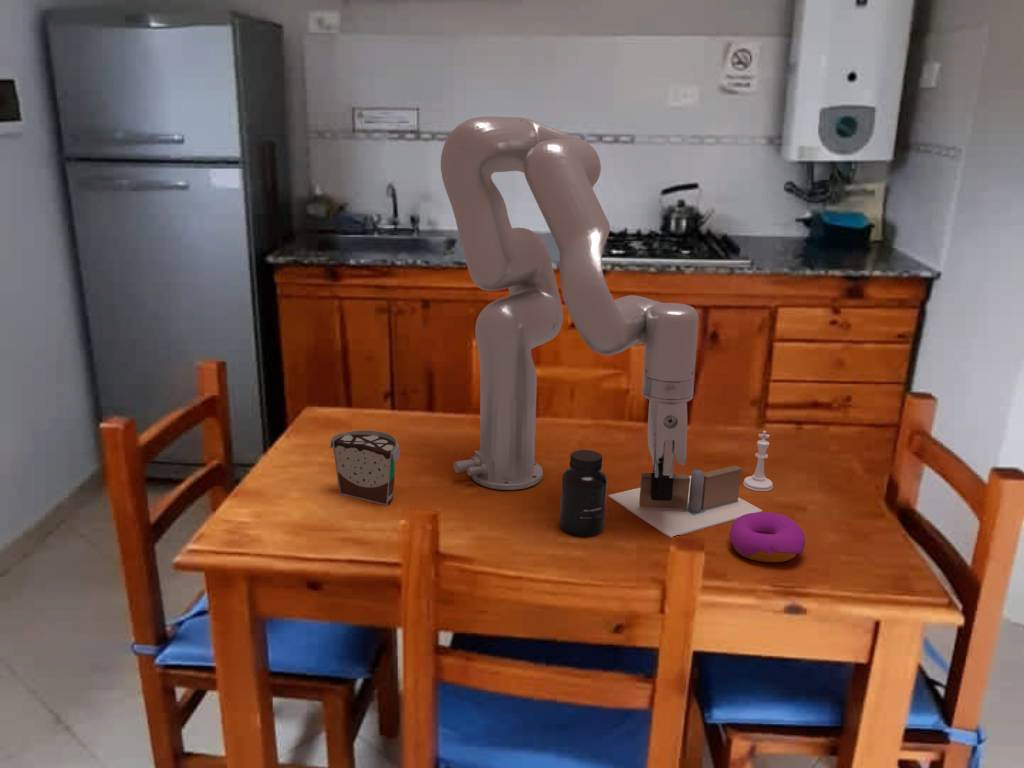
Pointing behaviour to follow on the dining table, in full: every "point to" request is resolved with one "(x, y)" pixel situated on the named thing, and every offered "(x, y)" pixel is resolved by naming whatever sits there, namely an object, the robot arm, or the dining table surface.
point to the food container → (366, 464)
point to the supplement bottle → (583, 494)
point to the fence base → (681, 516)
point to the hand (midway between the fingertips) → (660, 498)
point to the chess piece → (759, 468)
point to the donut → (767, 537)
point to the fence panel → (678, 493)
